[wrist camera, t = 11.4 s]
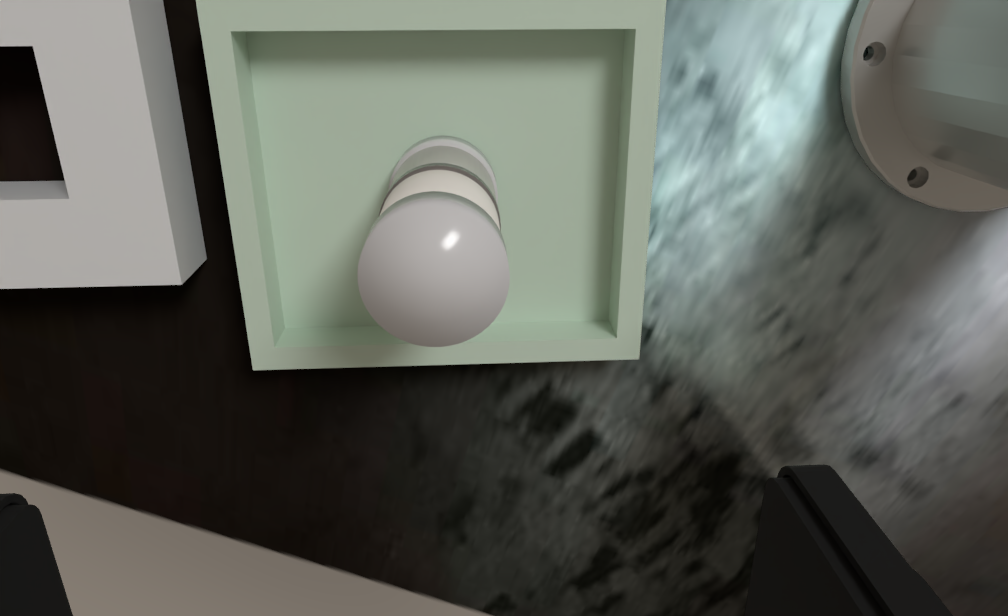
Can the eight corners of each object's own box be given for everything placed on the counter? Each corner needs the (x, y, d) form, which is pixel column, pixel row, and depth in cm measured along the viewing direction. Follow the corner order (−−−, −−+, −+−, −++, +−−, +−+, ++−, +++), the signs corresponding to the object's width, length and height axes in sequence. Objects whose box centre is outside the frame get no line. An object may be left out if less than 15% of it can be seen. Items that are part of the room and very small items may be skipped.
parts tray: (649, -3, 28) (666, -3, 25) (626, 334, 33) (639, 359, 31) (218, -1, 27) (195, -1, 25) (267, 344, 32) (252, 370, 30)
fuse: (495, 134, 29) (508, 203, 20) (497, 236, 30) (510, 344, 21) (387, 136, 28) (349, 208, 19) (395, 239, 30) (364, 349, 21)
